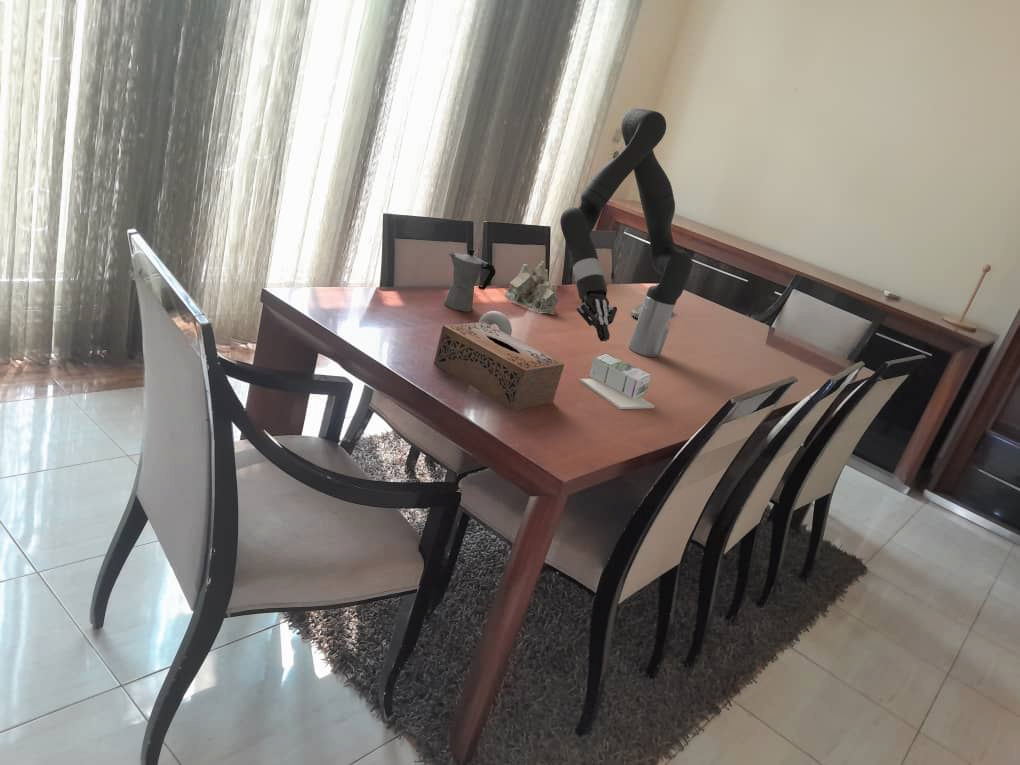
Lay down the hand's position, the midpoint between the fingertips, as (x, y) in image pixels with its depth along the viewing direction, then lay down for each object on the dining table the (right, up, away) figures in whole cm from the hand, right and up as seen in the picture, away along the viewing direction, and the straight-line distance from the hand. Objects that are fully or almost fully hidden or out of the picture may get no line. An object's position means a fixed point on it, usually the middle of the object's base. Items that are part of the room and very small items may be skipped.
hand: (605, 340), depth 192 cm
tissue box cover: (-29, -11, -18) cm, 36 cm away
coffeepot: (-39, +12, +33) cm, 53 cm away
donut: (-30, -2, +6) cm, 31 cm away
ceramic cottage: (-18, +15, +57) cm, 62 cm away
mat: (+2, -14, -3) cm, 14 cm away
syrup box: (-2, -6, +3) cm, 7 cm away
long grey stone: (+29, +15, +92) cm, 98 cm away
